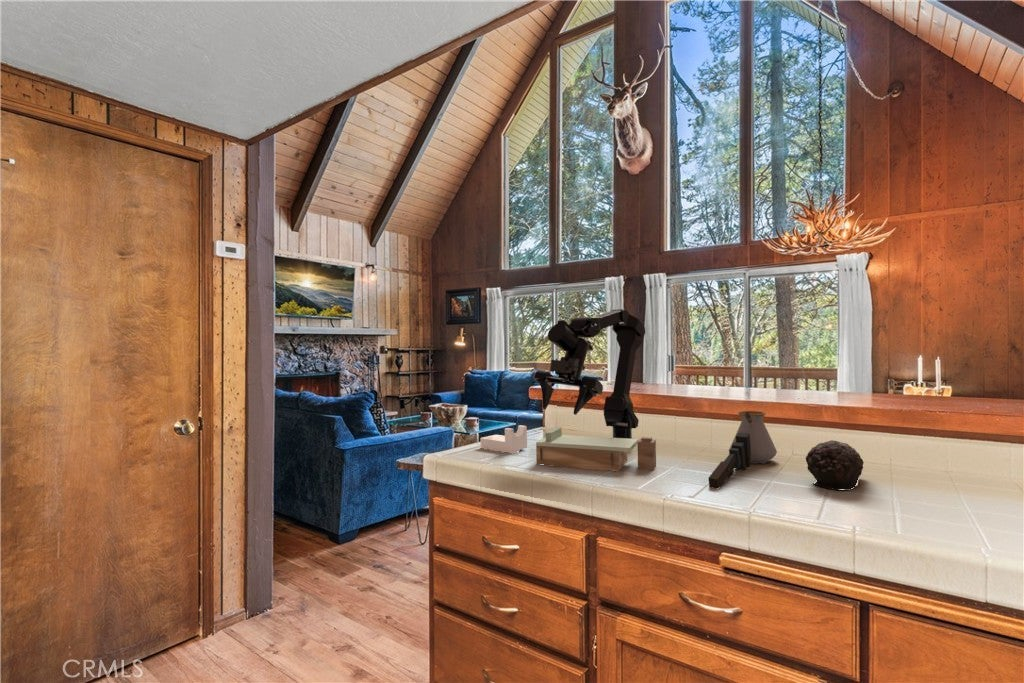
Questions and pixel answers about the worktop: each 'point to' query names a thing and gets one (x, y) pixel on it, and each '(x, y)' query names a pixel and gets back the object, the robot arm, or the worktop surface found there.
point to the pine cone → (834, 465)
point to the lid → (586, 442)
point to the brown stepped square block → (646, 453)
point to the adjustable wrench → (732, 460)
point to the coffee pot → (757, 436)
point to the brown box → (581, 458)
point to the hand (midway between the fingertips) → (559, 411)
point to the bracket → (507, 440)
